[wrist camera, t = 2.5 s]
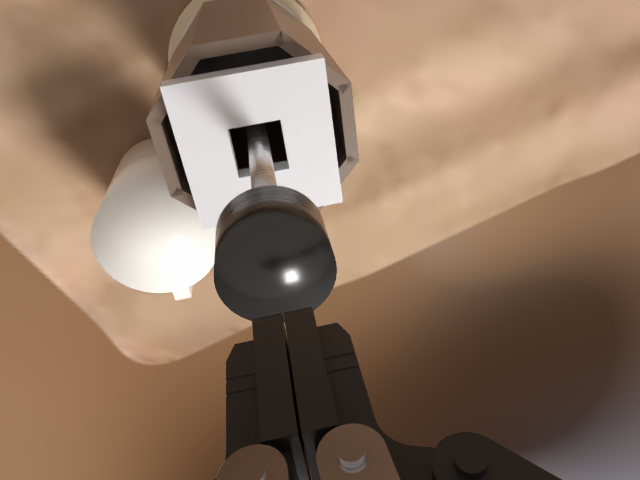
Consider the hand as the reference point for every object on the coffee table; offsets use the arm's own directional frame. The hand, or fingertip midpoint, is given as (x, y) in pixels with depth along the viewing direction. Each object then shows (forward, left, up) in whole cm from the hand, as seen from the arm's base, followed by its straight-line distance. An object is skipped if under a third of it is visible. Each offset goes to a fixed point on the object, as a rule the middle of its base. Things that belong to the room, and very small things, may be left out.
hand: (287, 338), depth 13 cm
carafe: (0, 0, -29) cm, 29 cm away
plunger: (0, 0, -20) cm, 20 cm away
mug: (+8, +8, -29) cm, 31 cm away
